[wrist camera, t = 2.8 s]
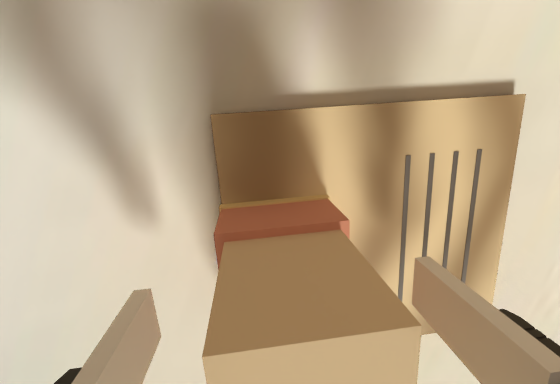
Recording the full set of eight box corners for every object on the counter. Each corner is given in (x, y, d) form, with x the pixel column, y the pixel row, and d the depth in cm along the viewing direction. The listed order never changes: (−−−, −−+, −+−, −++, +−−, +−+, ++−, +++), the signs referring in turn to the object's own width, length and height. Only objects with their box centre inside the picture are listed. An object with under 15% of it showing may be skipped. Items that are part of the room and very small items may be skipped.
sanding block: (235, 325, 18) (221, 569, 8) (220, 204, 16) (175, 342, 6) (329, 312, 18) (419, 526, 9) (326, 194, 16) (443, 305, 7)
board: (241, 355, 19) (241, 361, 18) (211, 114, 15) (210, 114, 14) (483, 320, 21) (489, 325, 20) (517, 94, 16) (526, 93, 16)
